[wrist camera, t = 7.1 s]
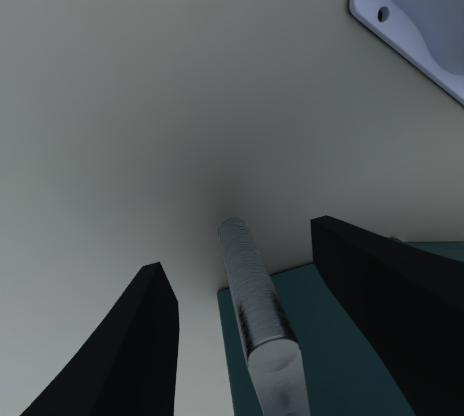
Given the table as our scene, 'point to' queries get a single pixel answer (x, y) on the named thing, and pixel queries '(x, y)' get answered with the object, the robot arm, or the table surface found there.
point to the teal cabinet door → (295, 342)
